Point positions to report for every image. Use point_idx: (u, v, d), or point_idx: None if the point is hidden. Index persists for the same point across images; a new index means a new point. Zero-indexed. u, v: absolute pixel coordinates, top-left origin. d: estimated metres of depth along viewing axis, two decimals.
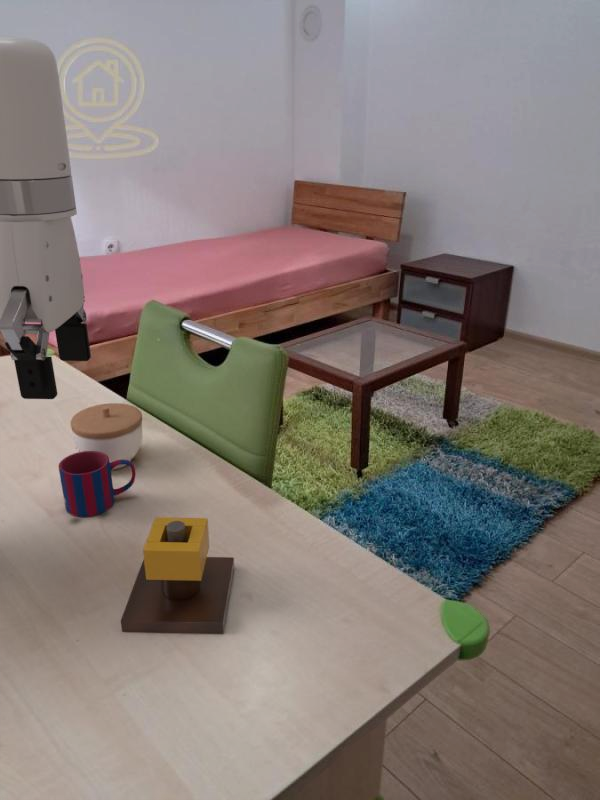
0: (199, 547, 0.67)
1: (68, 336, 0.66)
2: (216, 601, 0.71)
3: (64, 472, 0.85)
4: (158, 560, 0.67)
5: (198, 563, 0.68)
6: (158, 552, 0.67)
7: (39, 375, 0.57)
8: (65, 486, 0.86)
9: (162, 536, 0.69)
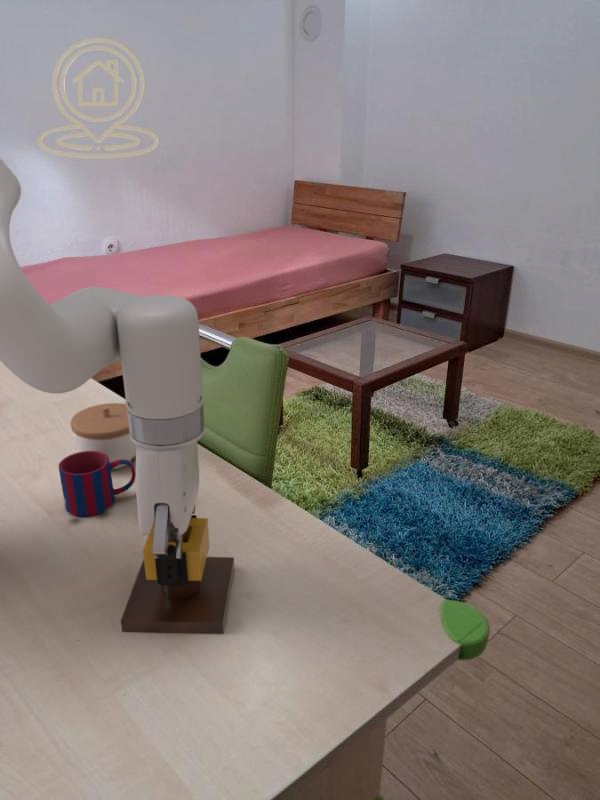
0: (199, 547, 0.67)
1: None
2: (216, 601, 0.71)
3: (64, 472, 0.85)
4: None
5: (198, 563, 0.68)
6: None
7: (176, 570, 0.66)
8: (65, 486, 0.86)
9: None
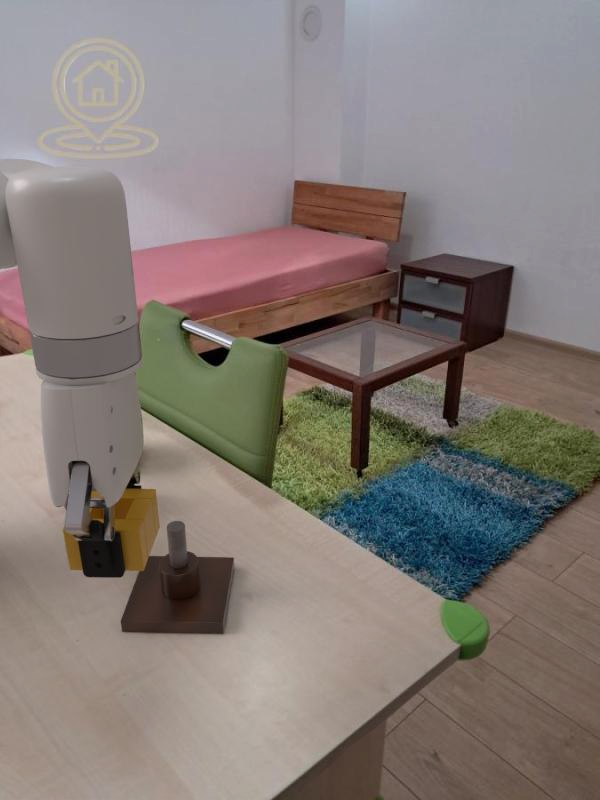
0: (140, 525, 0.50)
1: None
2: (216, 601, 0.71)
3: None
4: None
5: (138, 547, 0.50)
6: None
7: (107, 556, 0.49)
8: None
9: (92, 512, 0.52)
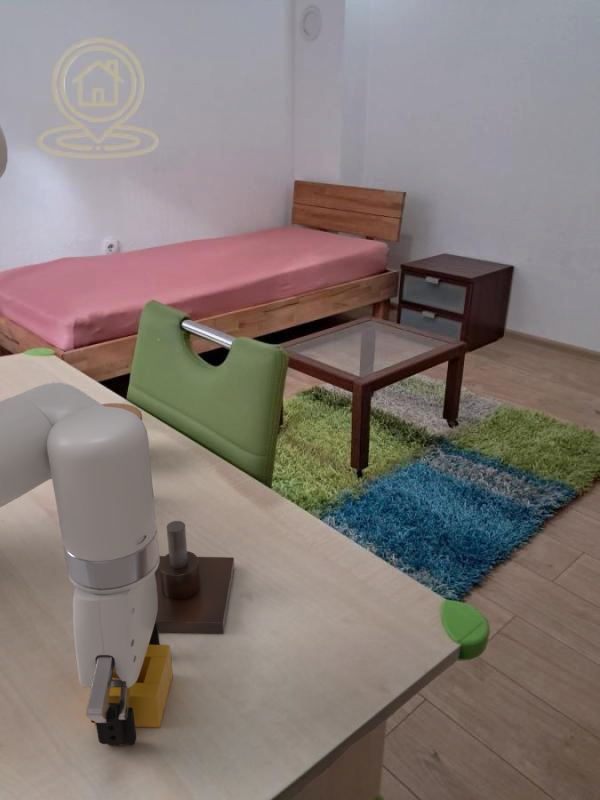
0: (157, 690, 0.57)
1: None
2: (216, 601, 0.71)
3: None
4: None
5: (155, 709, 0.57)
6: None
7: (120, 730, 0.54)
8: None
9: (114, 672, 0.59)
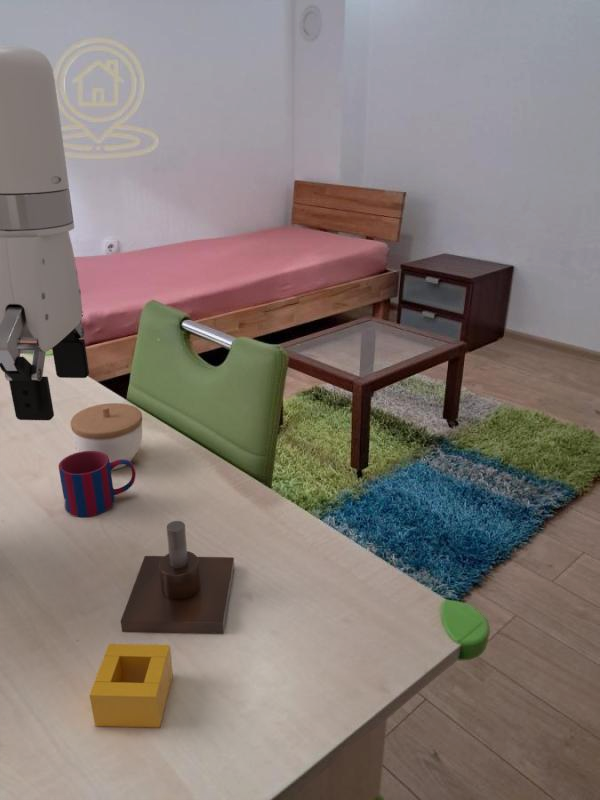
0: (157, 690, 0.57)
1: (65, 352, 0.64)
2: (216, 601, 0.71)
3: (64, 472, 0.85)
4: (108, 706, 0.57)
5: (155, 709, 0.57)
6: (107, 697, 0.56)
7: (35, 396, 0.54)
8: (65, 486, 0.86)
9: (114, 672, 0.59)
